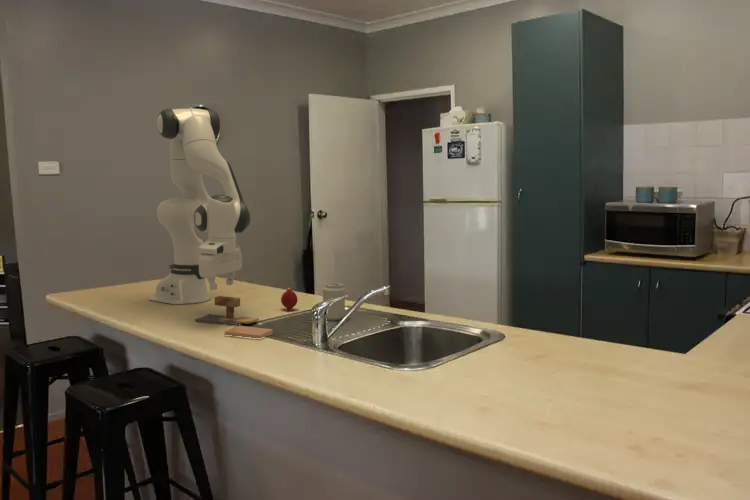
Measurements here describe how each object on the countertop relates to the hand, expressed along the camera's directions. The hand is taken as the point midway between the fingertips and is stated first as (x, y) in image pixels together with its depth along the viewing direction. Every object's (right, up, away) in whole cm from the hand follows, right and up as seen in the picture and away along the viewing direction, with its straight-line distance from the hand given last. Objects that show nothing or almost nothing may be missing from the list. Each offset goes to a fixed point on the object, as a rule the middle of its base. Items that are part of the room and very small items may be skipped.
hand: (221, 287), depth 212 cm
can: (+36, -11, +7) cm, 39 cm away
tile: (+6, -13, -14) cm, 20 cm away
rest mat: (0, -11, +1) cm, 11 cm away
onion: (+20, -9, +19) cm, 29 cm away
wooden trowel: (+5, -11, -1) cm, 12 cm away
